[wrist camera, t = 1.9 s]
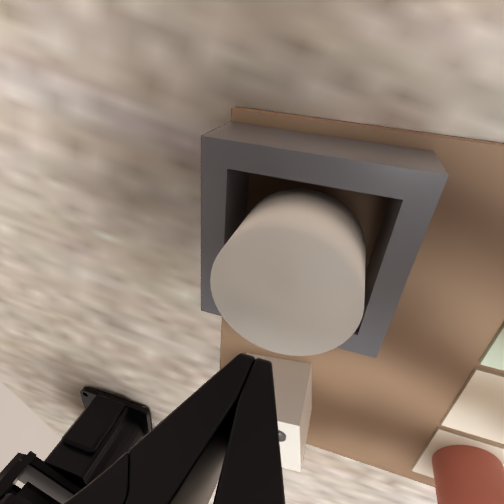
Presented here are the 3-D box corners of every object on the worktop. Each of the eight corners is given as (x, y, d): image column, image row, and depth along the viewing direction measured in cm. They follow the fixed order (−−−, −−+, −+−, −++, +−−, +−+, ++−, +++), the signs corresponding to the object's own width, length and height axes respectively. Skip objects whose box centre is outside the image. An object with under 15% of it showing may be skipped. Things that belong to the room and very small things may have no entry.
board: (536, 511, 21) (541, 526, 20) (220, 406, 26) (216, 415, 25) (900, 197, 10) (937, 207, 9) (236, 106, 14) (229, 109, 14)
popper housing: (375, 313, 17) (375, 358, 14) (223, 275, 18) (201, 310, 16) (433, 151, 13) (448, 175, 10) (230, 121, 14) (201, 135, 12)
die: (311, 408, 22) (300, 474, 18) (252, 396, 23) (231, 456, 19) (311, 363, 20) (299, 427, 16) (246, 352, 21) (222, 410, 18)
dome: (349, 310, 14) (343, 372, 12) (238, 282, 16) (209, 333, 13) (382, 202, 12) (384, 248, 9) (246, 177, 13) (211, 212, 10)
